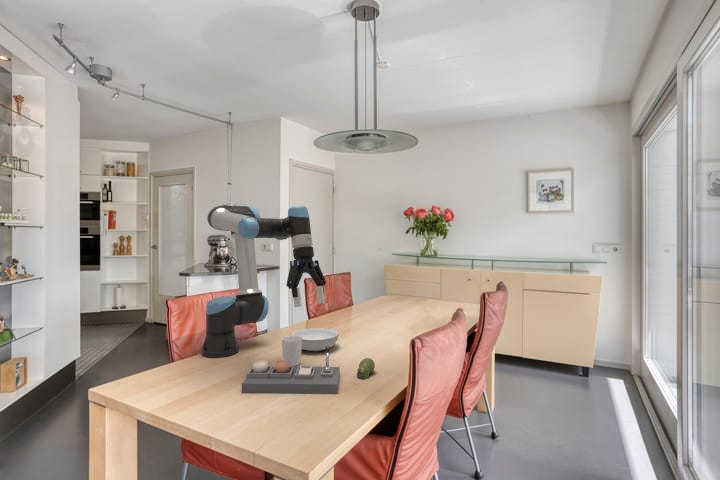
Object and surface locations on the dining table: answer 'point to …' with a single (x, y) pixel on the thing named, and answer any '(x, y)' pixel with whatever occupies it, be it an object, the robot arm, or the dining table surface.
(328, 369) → the toggle lever
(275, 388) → the switch panel
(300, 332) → the serving bowl
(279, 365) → the terracotta button
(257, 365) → the cream button
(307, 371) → the rocker switch
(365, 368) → the green rounded piece
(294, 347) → the white cup
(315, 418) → the dining table surface
